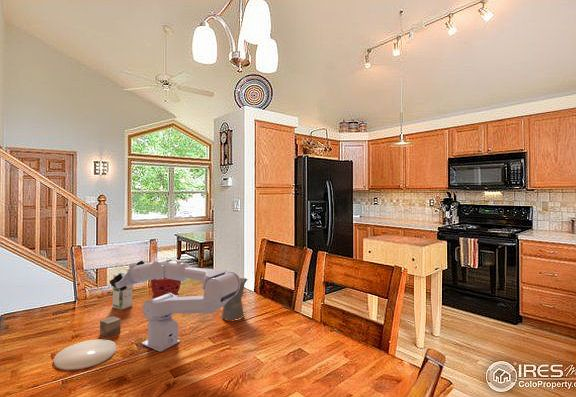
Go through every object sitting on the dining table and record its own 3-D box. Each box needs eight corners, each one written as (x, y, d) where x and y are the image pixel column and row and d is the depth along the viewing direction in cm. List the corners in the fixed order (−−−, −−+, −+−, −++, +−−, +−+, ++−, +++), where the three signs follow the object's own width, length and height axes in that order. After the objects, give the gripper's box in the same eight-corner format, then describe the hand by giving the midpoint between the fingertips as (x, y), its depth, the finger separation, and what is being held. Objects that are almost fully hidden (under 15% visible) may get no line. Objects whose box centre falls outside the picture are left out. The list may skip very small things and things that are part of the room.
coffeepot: (240, 309, 135) (241, 268, 134) (252, 316, 127) (253, 273, 127) (207, 318, 125) (208, 273, 125) (218, 326, 118) (219, 279, 117)
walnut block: (120, 332, 111) (120, 319, 111) (107, 337, 107) (107, 323, 107) (112, 329, 113) (113, 316, 113) (99, 334, 109) (100, 320, 109)
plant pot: (144, 302, 140) (144, 276, 140) (163, 293, 153) (164, 269, 152) (168, 306, 136) (168, 279, 136) (186, 297, 149) (187, 272, 148)
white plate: (126, 351, 98) (126, 347, 98) (71, 376, 84) (71, 372, 84) (98, 337, 106) (98, 335, 106) (43, 359, 92) (43, 355, 92)
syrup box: (111, 307, 133) (112, 274, 133) (124, 303, 138) (125, 271, 138) (120, 310, 131) (120, 276, 130) (133, 305, 136) (133, 273, 135)
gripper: (155, 252, 113) (131, 258, 119) (122, 272, 100) (97, 278, 106) (163, 269, 114) (139, 274, 120) (132, 292, 101) (106, 296, 107)
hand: (120, 277), depth 113 cm, fingers open, 7 cm apart
